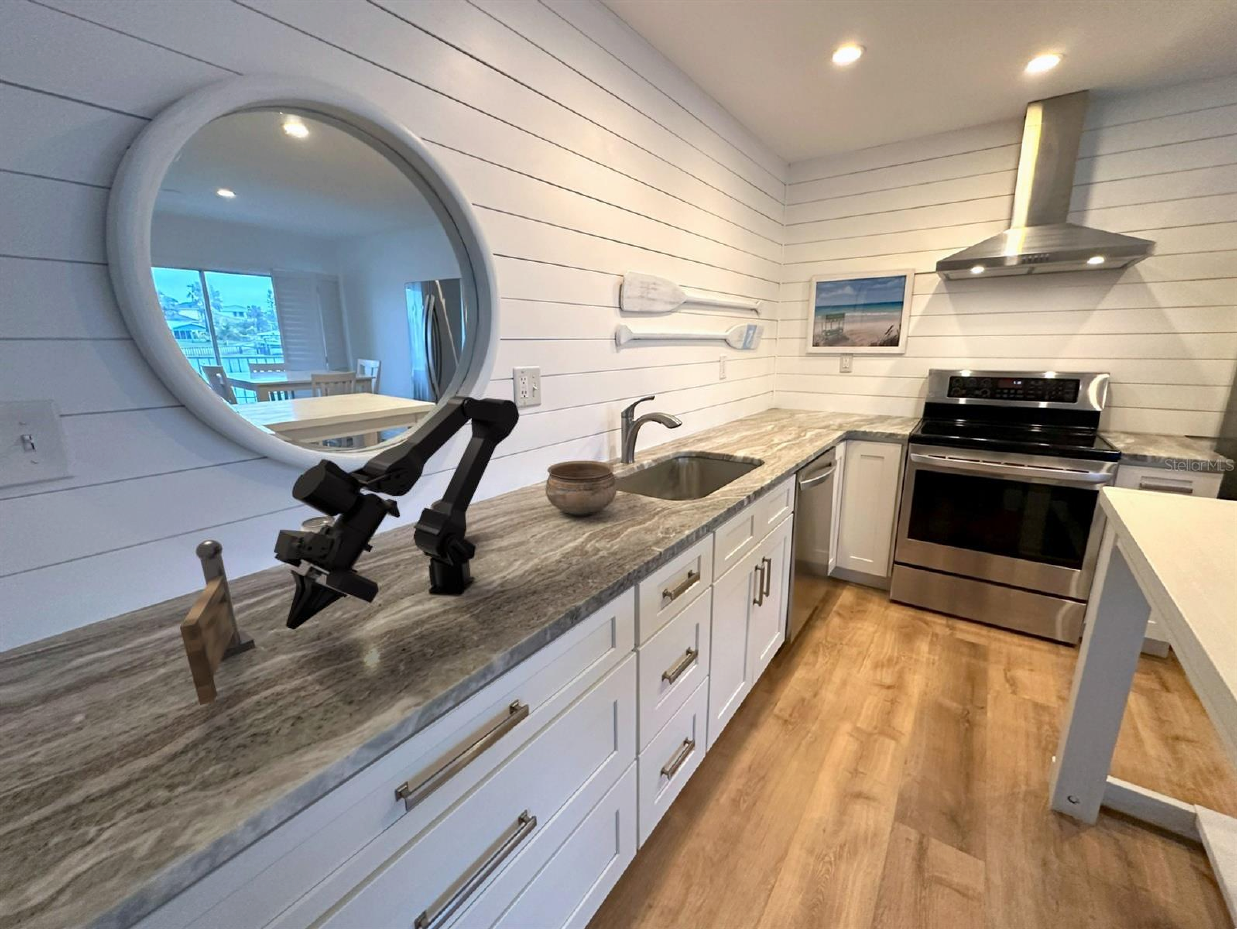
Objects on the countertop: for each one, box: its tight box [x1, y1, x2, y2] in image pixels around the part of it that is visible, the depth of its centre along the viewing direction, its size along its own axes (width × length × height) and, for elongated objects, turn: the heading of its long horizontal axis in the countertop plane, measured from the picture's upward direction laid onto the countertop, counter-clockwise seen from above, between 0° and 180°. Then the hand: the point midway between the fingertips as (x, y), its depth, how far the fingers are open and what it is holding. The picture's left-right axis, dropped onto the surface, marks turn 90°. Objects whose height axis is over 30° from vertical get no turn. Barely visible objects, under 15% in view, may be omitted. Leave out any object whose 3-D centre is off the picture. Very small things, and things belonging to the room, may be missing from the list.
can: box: [300, 515, 336, 533], centre depth 96 cm, size 6×6×12 cm
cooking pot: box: [545, 460, 618, 518], centre depth 132 cm, size 25×19×12 cm
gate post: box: [195, 539, 256, 662], centre depth 73 cm, size 4×4×18 cm
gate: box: [179, 575, 239, 706], centre depth 66 cm, size 14×1×11 cm, turn 26°
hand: (289, 628), depth 70 cm, fingers closed
